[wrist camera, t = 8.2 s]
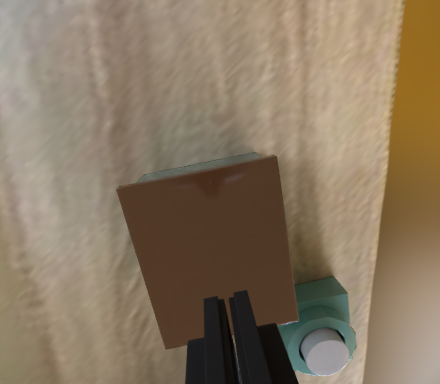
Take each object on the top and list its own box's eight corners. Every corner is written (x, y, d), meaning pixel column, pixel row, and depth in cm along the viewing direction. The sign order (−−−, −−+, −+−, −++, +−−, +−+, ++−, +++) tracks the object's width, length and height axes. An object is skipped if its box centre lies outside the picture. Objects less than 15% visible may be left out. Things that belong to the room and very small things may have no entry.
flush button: (298, 332, 29) (304, 345, 28) (339, 323, 29) (347, 336, 28) (302, 365, 30) (308, 379, 29) (342, 356, 30) (350, 370, 29)
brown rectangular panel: (118, 186, 21) (115, 189, 20) (274, 154, 21) (277, 156, 20) (166, 342, 25) (165, 350, 24) (296, 314, 25) (299, 321, 24)
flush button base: (267, 290, 33) (279, 320, 28) (334, 276, 33) (356, 303, 28) (277, 351, 35) (290, 388, 31) (339, 338, 36) (361, 372, 31)
